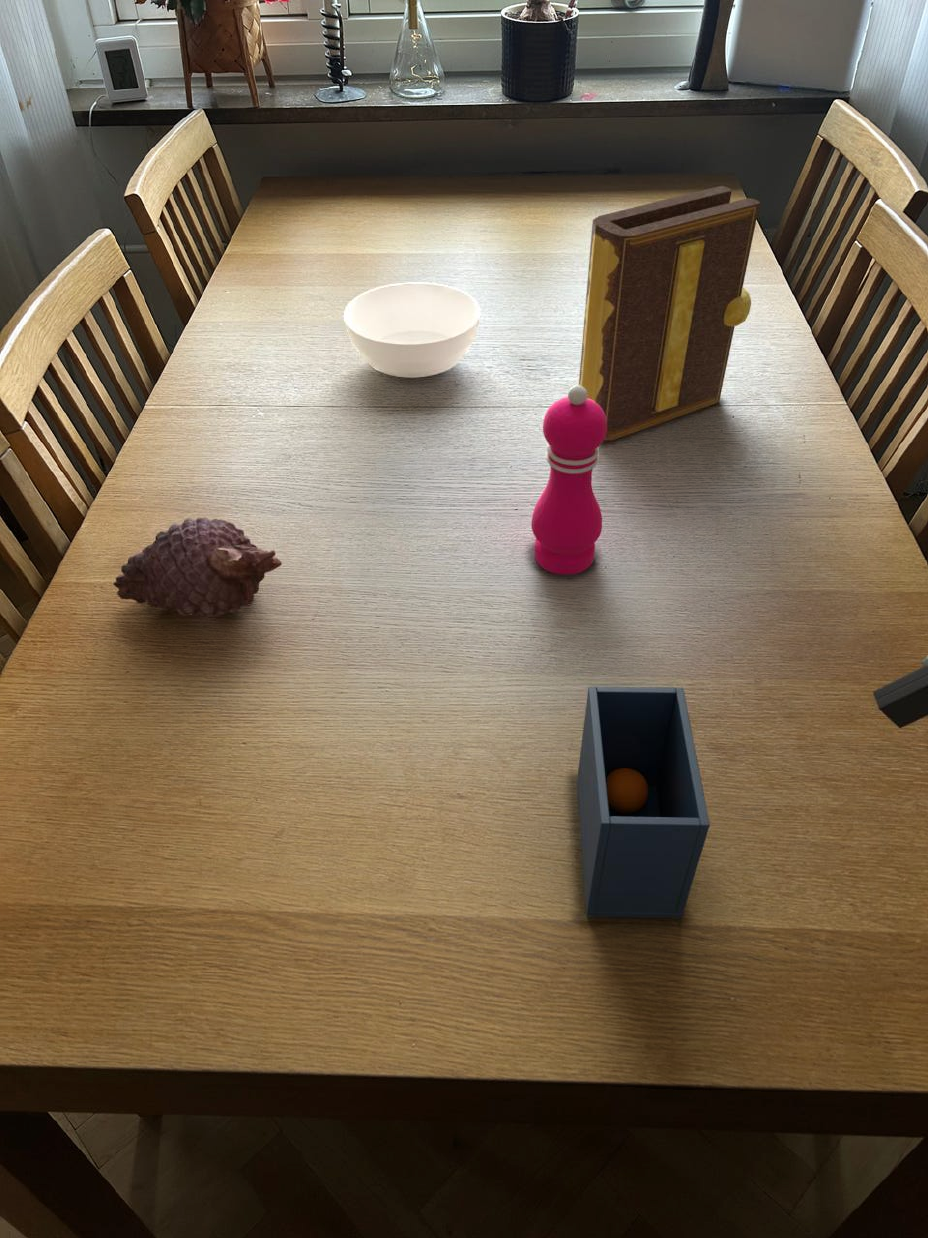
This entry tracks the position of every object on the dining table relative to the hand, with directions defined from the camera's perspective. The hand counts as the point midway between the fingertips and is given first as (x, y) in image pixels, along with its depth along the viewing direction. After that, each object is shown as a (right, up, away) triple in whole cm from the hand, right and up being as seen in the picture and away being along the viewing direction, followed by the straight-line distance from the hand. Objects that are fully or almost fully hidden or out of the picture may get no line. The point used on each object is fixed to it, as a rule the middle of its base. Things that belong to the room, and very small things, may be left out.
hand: (886, 710), depth 61 cm
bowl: (-34, +41, +68) cm, 87 cm away
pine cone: (-54, +8, +33) cm, 63 cm away
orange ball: (-15, -9, +13) cm, 22 cm away
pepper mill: (-17, +12, +37) cm, 43 cm away
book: (-3, +33, +58) cm, 67 cm away
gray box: (-15, -12, +12) cm, 22 cm away
